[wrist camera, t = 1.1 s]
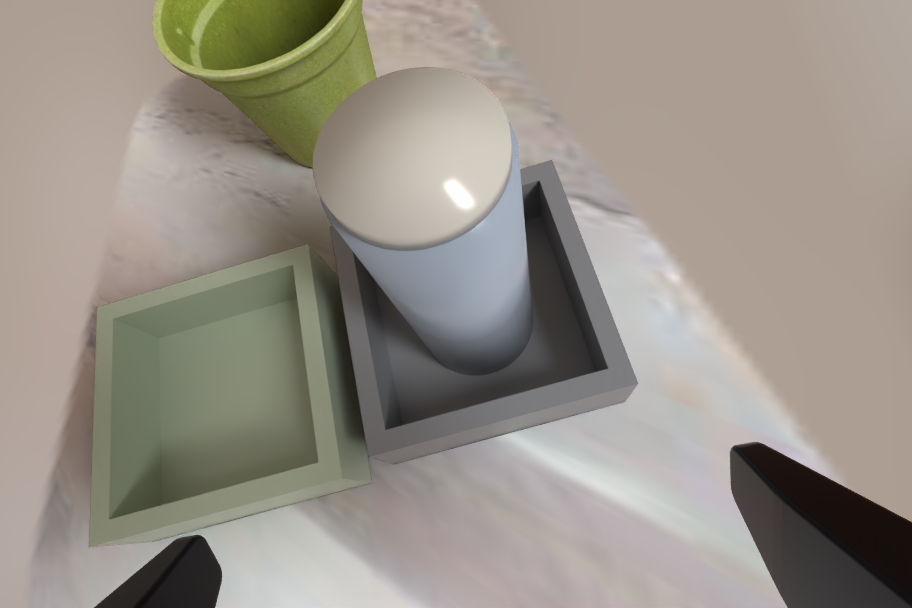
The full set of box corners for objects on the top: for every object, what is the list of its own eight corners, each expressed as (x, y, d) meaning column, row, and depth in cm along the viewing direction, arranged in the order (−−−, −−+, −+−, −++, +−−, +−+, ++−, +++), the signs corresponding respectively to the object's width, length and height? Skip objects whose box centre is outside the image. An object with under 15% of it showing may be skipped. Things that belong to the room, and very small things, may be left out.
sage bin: (372, 482, 22) (342, 478, 19) (153, 541, 23) (89, 547, 20) (337, 276, 26) (307, 243, 23) (151, 331, 27) (97, 307, 24)
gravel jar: (547, 358, 23) (545, 203, 11) (435, 389, 23) (321, 270, 11) (515, 258, 24) (485, 38, 13) (412, 287, 25) (295, 98, 13)
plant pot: (234, 191, 29) (116, 74, 21) (281, 60, 32) (194, -86, 24) (393, 202, 27) (328, 77, 19) (427, 61, 30) (384, -97, 22)
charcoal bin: (625, 401, 22) (638, 383, 19) (394, 464, 23) (368, 457, 19) (551, 203, 26) (552, 159, 23) (356, 261, 26) (330, 227, 23)
